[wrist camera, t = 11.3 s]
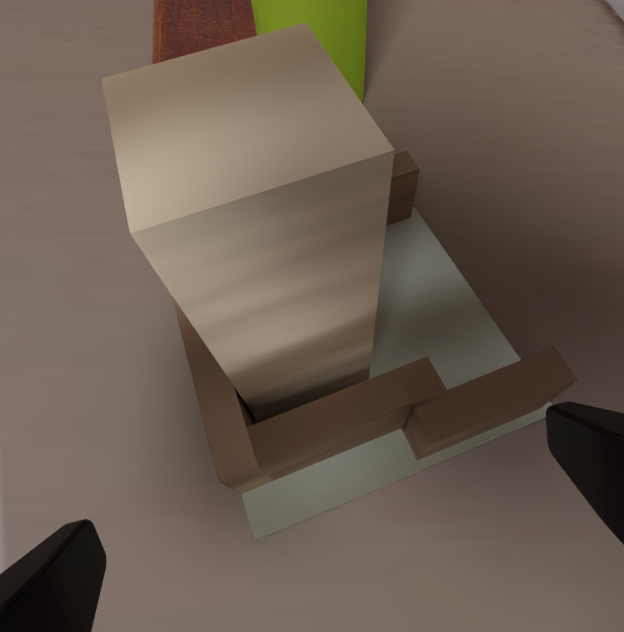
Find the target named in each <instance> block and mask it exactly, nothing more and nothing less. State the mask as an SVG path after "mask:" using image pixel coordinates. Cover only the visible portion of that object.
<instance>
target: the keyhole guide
mask: <svg viewBox="0 0 624 632" xmlns="http://www.w3.org/2000/svg"><path fill="white" fill-rule="evenodd" d="M418 174H419V167H418V166H417V165H416V163H415V162H414V161H413V159H412V158H411V157H410V155H409V154H408V153H407V151H406V152H403V153H400V154H397V155H394V159H393V168H392V177H391V186H390V195H389V204H388V213H387V222H386V231H385V240H384V249H383V258H382V267H381V276H380V284H379V293H378V302H377V311H376V320H375V329H374V338H373V347H372V356H371V365H370V374H369V379H368V380H366V381H363V382H361V383H358V384H356V385H353V386H350V387H348V388H345V389H343V390H340V391H338V392H335V393H333V394H330V395H328V396H325V397H323V398H320V399H318V400H315V401H312V402H310V403H307V404H305V405H302V406H300V407H297V408H295V409H292V410H290V411H287V412H285V413H282V414H280V415H277V416H274V417H272V418H269V419H267V420H264V421H262V422H258V421H257V419H256V418H255V416H254V415H253V413H252V412H251V411H250V409H249V408H248V406H247V405H246V403H245V402H244V400H243V399H242V397H241V396H240V394H239V393H238V391H237V390H236V388H235V387H234V386H233V384H232V383H231V381H230V380H229V378H228V377H227V375H226V374H225V372H224V371H223V369H222V368H221V366H220V365H219V364H218V362H217V361H216V359H215V358H214V356H213V355H212V353H211V352H210V350H209V349H208V347H207V346H206V344H205V343H204V341H203V340H202V339H201V337H200V336H199V334H198V333H197V331H196V330H195V328H194V327H193V325H192V324H191V322H190V321H189V319H188V318H187V317H186V315H185V314H184V312H183V311H182V309H181V308H180V306H179V305H178V303H177V302H176V300H175V299H174V297H173V296H172V298H173V302H174V306H175V310H176V314H177V318H178V322H179V326H180V330H181V334H182V338H183V342H184V346H185V350H186V353H187V357H188V361H189V365H190V369H191V373H192V377H193V381H194V385H195V389H196V393H197V397H198V401H199V405H200V409H201V413H202V417H203V421H204V425H205V429H206V433H207V437H208V441H209V445H210V448H211V452H212V456H213V460H214V464H215V468H216V472H217V476H218V480H219V482H221V483H223V484H224V485H226V486H228V487H230V488H232V489H233V490H235V491H237V492H239V493H240V494H242V498H243V502H244V505H245V509H246V513H247V516H248V520H249V524H250V527H251V531H252V535H253V538H254V541H257V540H260V539H262V538H264V537H267V536H269V535H271V534H274V533H276V532H278V531H281V530H283V529H285V528H288V527H290V526H292V525H295V524H297V523H299V522H302V521H304V520H306V519H309V518H311V517H313V516H316V515H318V514H320V513H323V512H325V511H327V510H330V509H332V508H334V507H337V506H339V505H341V504H344V503H346V502H348V501H351V500H353V499H356V498H358V497H360V496H363V495H365V494H367V493H370V492H372V491H374V490H377V489H379V488H381V487H384V486H386V485H388V484H391V483H393V482H395V481H398V480H400V479H402V478H405V477H407V476H409V475H412V474H414V473H416V472H419V471H421V470H423V469H426V468H428V467H430V466H433V465H435V464H437V463H440V462H442V461H444V460H447V459H449V458H451V457H454V456H456V455H458V454H461V453H463V452H465V451H468V450H470V449H472V448H475V447H477V446H479V445H482V444H484V443H487V442H489V441H491V440H494V439H496V438H498V437H501V436H503V435H505V434H508V433H510V432H512V431H515V430H517V429H519V428H522V427H524V426H526V425H529V424H531V423H533V422H536V421H538V420H540V419H543V418H545V417H546V410H547V408H548V407H549V406H551V405H552V404H551V402H550V401H551V400H552V399H553V398H555V397H556V396H557V395H559V394H560V393H561V392H562V391H564V390H565V389H566V388H568V387H569V386H570V385H572V384H573V383H574V382H575V381H577V380H578V379H577V378H576V376H575V375H574V374H573V372H572V371H571V370H570V368H569V367H568V366H567V364H566V363H565V362H564V360H563V359H562V358H561V356H560V355H559V354H558V352H557V351H556V350H555V348H554V347H552V348H549V349H547V350H545V351H542V352H540V353H537V354H535V355H532V356H530V357H527V358H525V359H522V360H521V359H520V358H519V356H518V355H517V353H516V352H515V350H514V349H513V347H512V346H511V345H510V343H509V342H508V340H507V339H506V337H505V336H504V335H503V333H502V332H501V330H500V329H499V327H498V326H497V324H496V323H495V322H494V320H493V319H492V317H491V316H490V314H489V313H488V311H487V310H486V309H485V307H484V306H483V304H482V303H481V301H480V300H479V299H478V297H477V296H476V294H475V293H474V291H473V290H472V288H471V287H470V286H469V284H468V283H467V281H466V280H465V278H464V277H463V276H462V274H461V273H460V271H459V270H458V268H457V267H456V265H455V264H454V263H453V261H452V260H451V258H450V257H449V255H448V254H447V253H446V251H445V250H444V248H443V247H442V245H441V244H440V242H439V241H438V240H437V238H436V237H435V235H434V234H433V232H432V231H431V229H430V228H429V227H428V225H427V224H426V222H425V221H424V219H423V218H422V217H421V215H420V214H419V212H418V211H417V209H416V208H415V206H414V205H413V202H414V196H415V191H416V185H417V180H418Z"/></svg>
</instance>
